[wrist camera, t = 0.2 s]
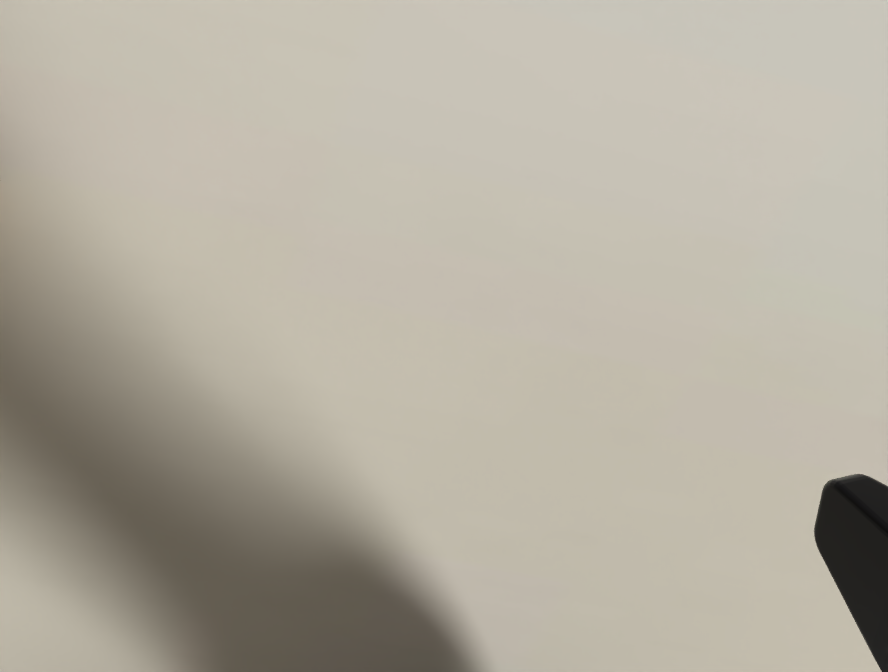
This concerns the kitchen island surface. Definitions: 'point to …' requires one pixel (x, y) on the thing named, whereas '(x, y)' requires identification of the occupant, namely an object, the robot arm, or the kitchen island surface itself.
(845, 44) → the kitchen island surface
